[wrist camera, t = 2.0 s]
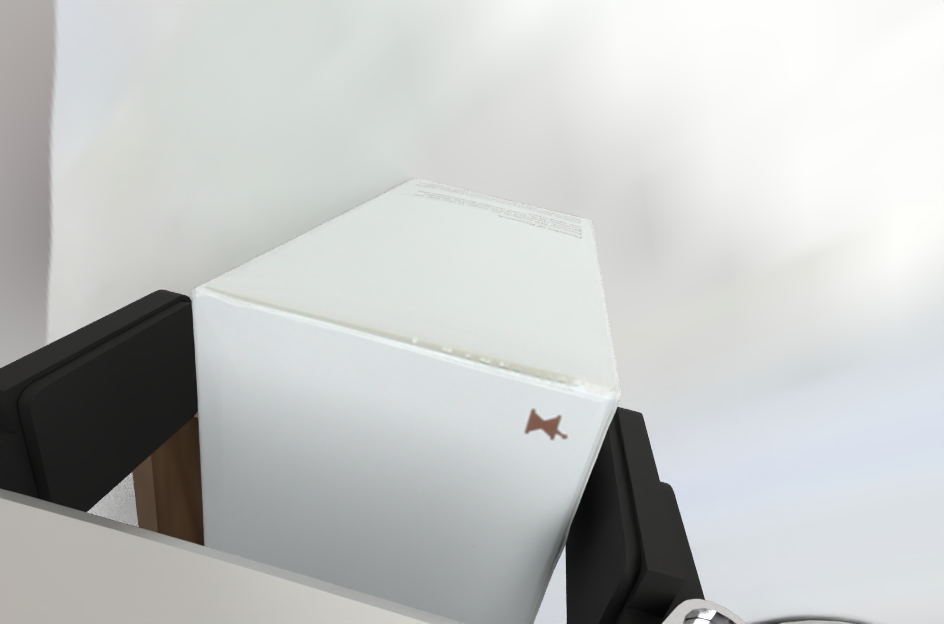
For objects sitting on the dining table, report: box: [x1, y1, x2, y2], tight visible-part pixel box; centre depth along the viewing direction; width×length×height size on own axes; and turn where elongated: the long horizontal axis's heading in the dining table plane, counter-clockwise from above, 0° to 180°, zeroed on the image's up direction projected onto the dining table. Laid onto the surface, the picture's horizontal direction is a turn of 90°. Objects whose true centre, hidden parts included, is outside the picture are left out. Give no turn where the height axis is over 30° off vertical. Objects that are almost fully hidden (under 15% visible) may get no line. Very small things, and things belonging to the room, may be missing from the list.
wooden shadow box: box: [133, 412, 204, 546], centre depth 24 cm, size 14×14×4 cm
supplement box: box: [192, 178, 621, 624], centre depth 15 cm, size 7×7×13 cm
